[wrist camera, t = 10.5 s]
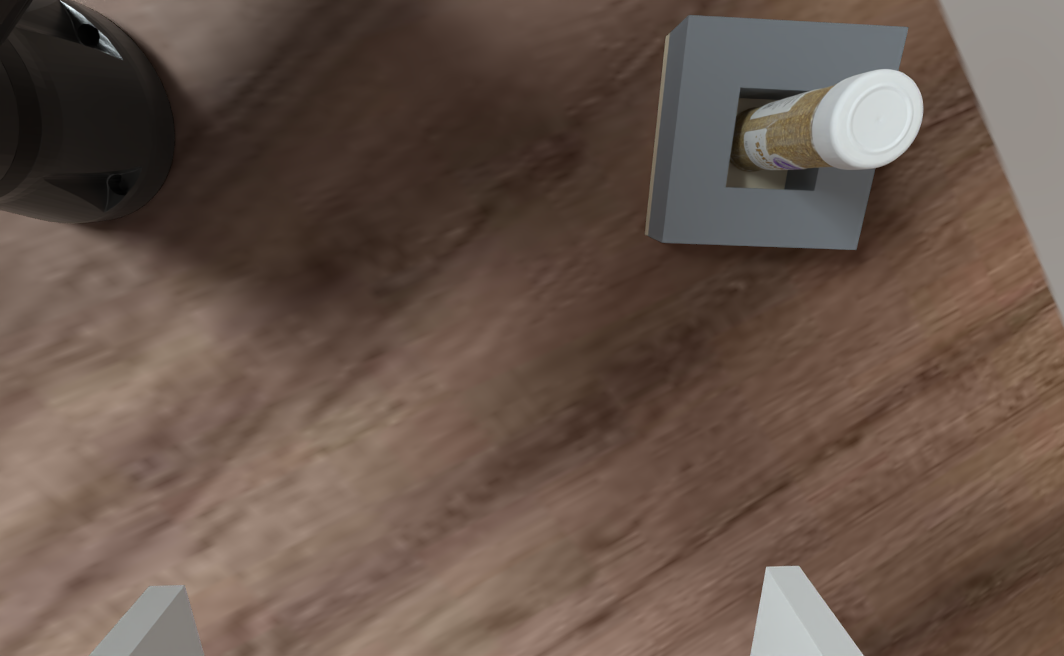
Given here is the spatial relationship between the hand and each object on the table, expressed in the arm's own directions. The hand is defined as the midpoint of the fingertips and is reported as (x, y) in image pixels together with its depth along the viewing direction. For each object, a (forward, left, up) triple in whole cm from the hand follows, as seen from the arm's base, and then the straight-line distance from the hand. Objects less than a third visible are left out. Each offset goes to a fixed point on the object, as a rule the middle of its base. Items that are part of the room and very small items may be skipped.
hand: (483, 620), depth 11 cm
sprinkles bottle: (+18, +13, -30) cm, 37 cm away
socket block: (+18, +13, -31) cm, 38 cm away
